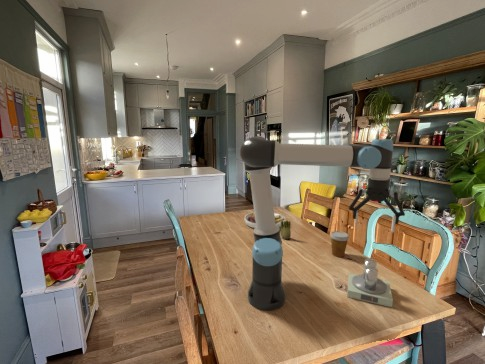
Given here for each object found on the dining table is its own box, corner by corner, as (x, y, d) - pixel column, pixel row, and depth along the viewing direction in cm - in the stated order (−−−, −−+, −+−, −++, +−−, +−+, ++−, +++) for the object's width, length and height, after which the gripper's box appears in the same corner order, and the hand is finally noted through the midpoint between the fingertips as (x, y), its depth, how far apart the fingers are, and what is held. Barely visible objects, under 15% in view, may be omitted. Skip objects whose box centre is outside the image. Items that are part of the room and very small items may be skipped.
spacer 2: (376, 291, 102) (378, 273, 101) (364, 289, 104) (365, 270, 102) (375, 285, 106) (377, 267, 105) (363, 283, 108) (365, 265, 106)
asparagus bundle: (279, 238, 164) (280, 220, 162) (284, 236, 167) (284, 218, 165) (287, 240, 160) (287, 222, 158) (291, 238, 163) (292, 220, 161)
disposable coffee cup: (350, 254, 142) (351, 233, 140) (343, 260, 135) (344, 239, 133) (333, 249, 148) (334, 229, 146) (325, 254, 142) (327, 234, 139)
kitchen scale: (392, 308, 99) (393, 298, 98) (347, 297, 105) (347, 288, 104) (388, 287, 112) (389, 279, 111) (348, 279, 118) (349, 271, 117)
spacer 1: (374, 282, 109) (376, 264, 107) (363, 280, 110) (365, 262, 109) (374, 277, 112) (375, 260, 111) (363, 274, 114) (364, 258, 113)
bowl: (263, 215, 211) (263, 205, 210) (293, 224, 190) (294, 214, 188) (236, 223, 191) (236, 213, 189) (266, 235, 169) (267, 223, 168)
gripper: (413, 179, 101) (407, 230, 105) (345, 175, 111) (342, 221, 115) (417, 182, 95) (410, 236, 99) (345, 177, 105) (341, 227, 109)
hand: (373, 228), depth 107 cm, fingers open, 13 cm apart
